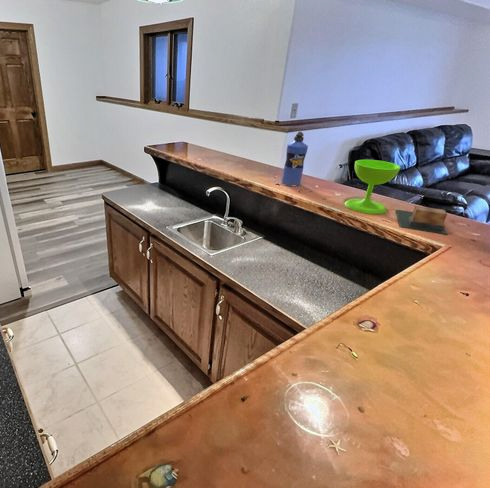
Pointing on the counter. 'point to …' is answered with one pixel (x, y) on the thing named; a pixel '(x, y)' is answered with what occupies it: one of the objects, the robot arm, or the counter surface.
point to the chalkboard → (404, 223)
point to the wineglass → (372, 184)
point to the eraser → (428, 218)
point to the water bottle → (294, 161)
